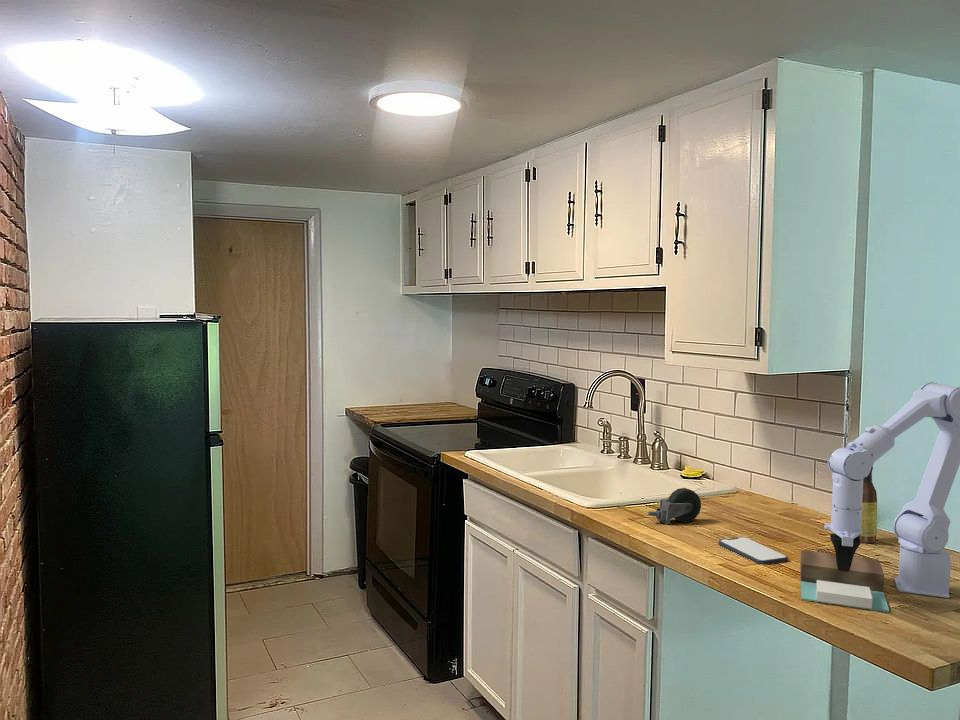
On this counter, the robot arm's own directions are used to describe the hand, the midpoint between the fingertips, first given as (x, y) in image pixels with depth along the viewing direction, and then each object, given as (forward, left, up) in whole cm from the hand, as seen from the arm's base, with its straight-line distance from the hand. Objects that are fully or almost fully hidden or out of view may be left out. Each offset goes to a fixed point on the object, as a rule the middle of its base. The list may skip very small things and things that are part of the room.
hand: (843, 570), depth 164 cm
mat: (0, +3, -5) cm, 6 cm away
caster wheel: (+40, -39, -5) cm, 56 cm away
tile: (0, +5, -2) cm, 5 cm away
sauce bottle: (-7, -42, -5) cm, 43 cm away
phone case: (+19, -20, -5) cm, 28 cm away
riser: (0, -8, -5) cm, 10 cm away
